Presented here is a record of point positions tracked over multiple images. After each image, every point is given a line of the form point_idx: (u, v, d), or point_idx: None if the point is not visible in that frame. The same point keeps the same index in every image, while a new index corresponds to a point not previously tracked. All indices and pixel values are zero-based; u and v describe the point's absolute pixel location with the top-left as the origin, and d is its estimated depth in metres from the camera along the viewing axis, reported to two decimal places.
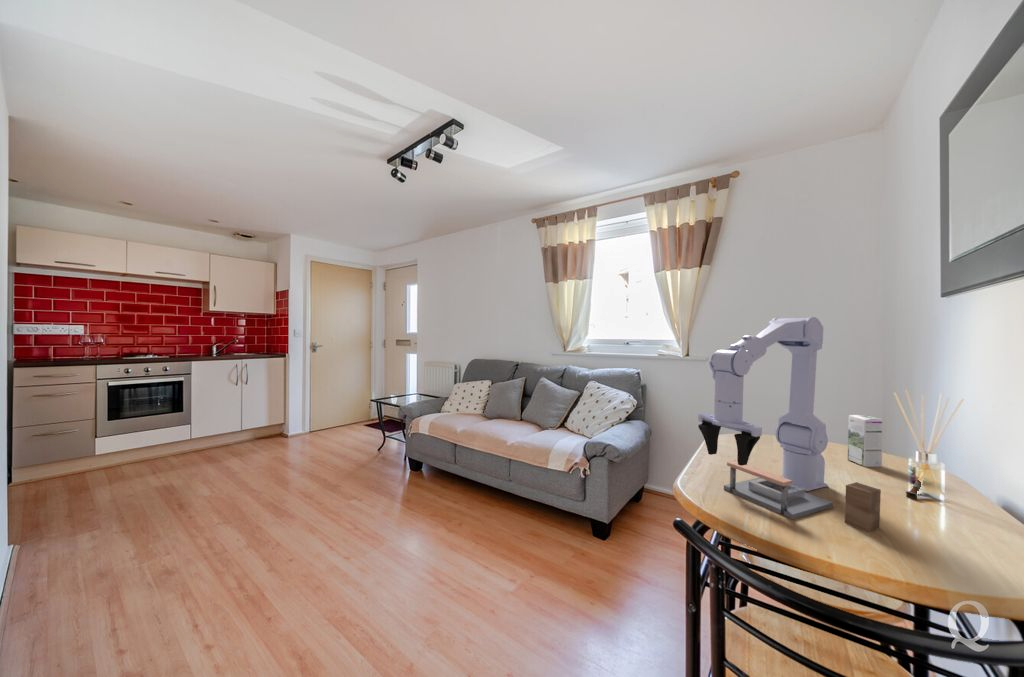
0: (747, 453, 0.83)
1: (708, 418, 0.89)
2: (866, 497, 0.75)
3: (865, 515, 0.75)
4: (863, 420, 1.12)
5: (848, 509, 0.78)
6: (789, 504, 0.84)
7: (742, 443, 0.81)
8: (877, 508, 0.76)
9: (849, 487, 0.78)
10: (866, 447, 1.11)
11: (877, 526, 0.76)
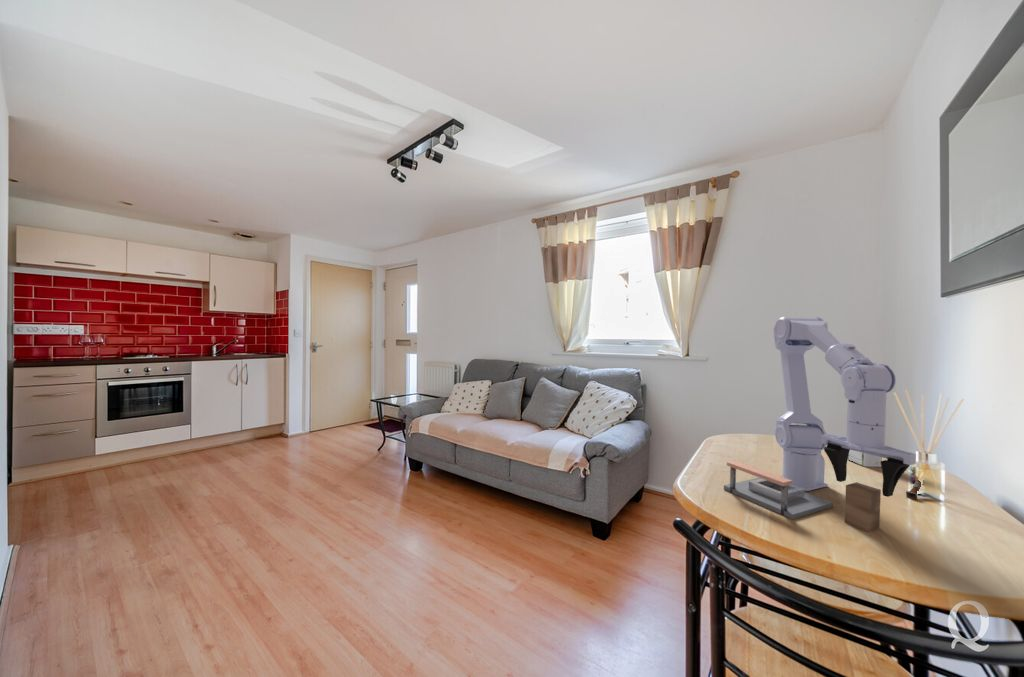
0: (893, 482, 0.73)
1: (838, 441, 0.80)
2: (866, 497, 0.75)
3: (865, 515, 0.75)
4: None
5: (848, 509, 0.78)
6: (789, 504, 0.84)
7: (892, 472, 0.71)
8: (877, 508, 0.76)
9: (849, 487, 0.78)
10: None
11: (877, 526, 0.76)
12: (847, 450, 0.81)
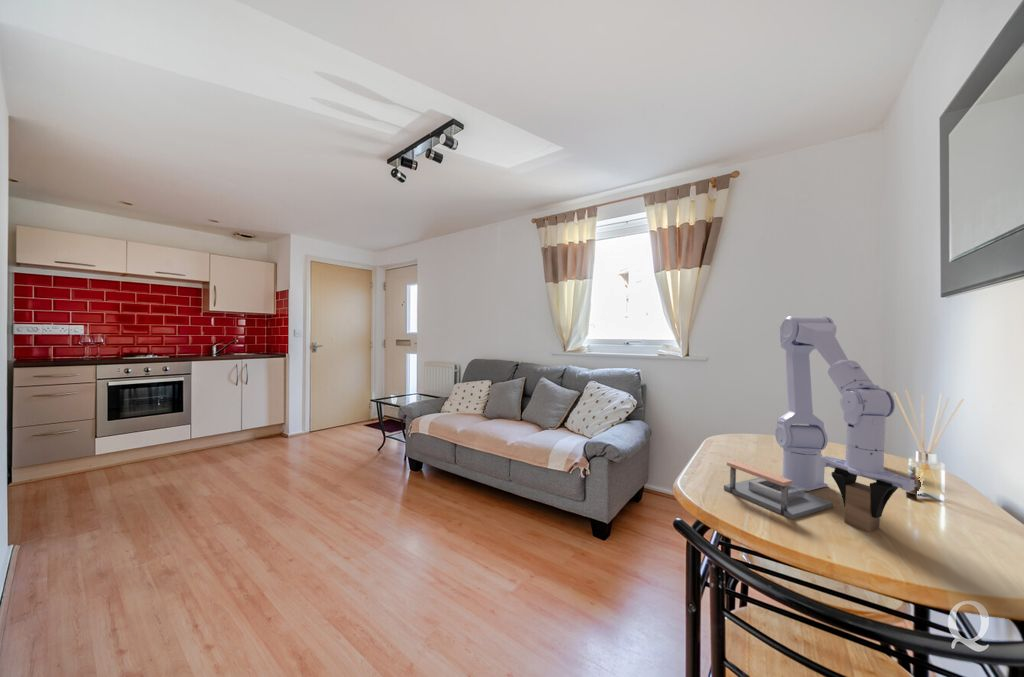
0: (882, 504, 0.75)
1: (837, 464, 0.80)
2: (866, 496, 0.75)
3: (865, 515, 0.75)
4: None
5: (848, 509, 0.78)
6: (789, 504, 0.84)
7: (880, 494, 0.73)
8: None
9: (849, 487, 0.78)
10: None
11: (877, 526, 0.76)
12: (855, 475, 0.80)
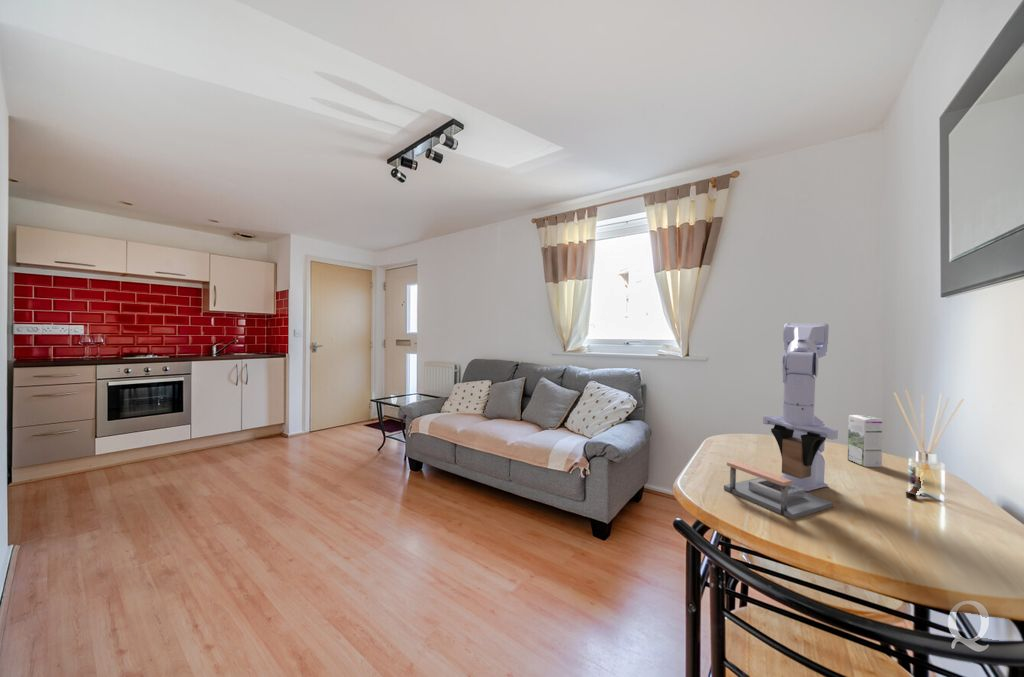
0: (812, 454, 0.84)
1: (776, 421, 0.89)
2: (798, 447, 0.84)
3: (798, 464, 0.84)
4: (863, 420, 1.12)
5: (784, 460, 0.87)
6: (789, 504, 0.84)
7: (809, 444, 0.82)
8: None
9: (785, 440, 0.87)
10: (866, 447, 1.11)
11: (809, 474, 0.85)
12: (791, 431, 0.89)
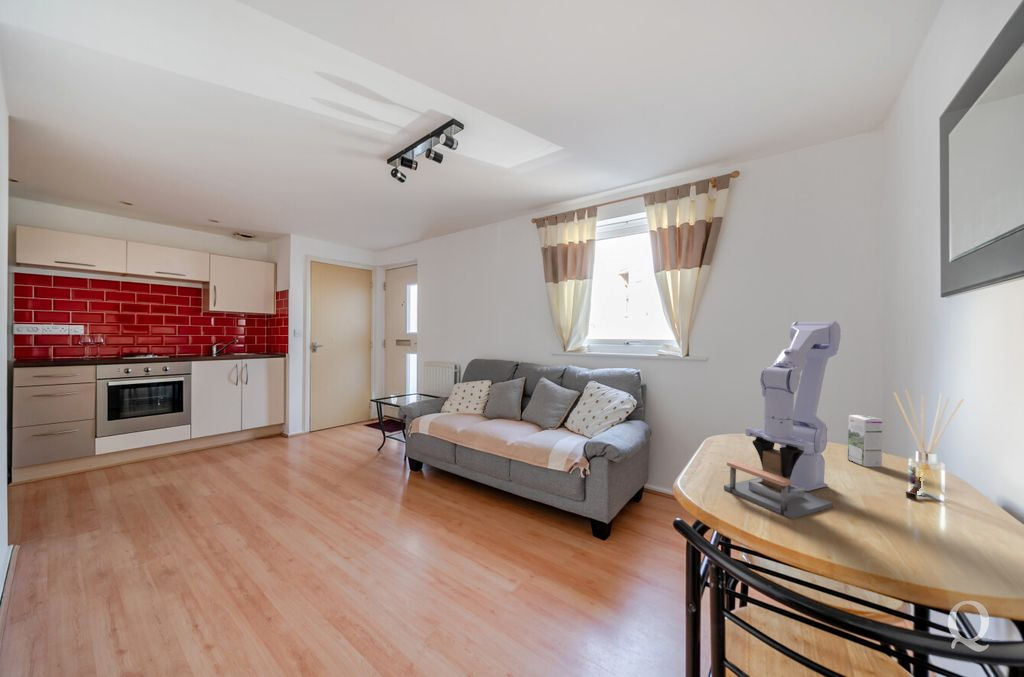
0: (791, 466, 0.87)
1: (757, 433, 0.92)
2: (777, 459, 0.87)
3: None
4: (863, 420, 1.12)
5: None
6: (789, 504, 0.84)
7: (787, 456, 0.85)
8: None
9: (765, 452, 0.90)
10: (866, 447, 1.11)
11: (788, 485, 0.88)
12: (772, 443, 0.92)
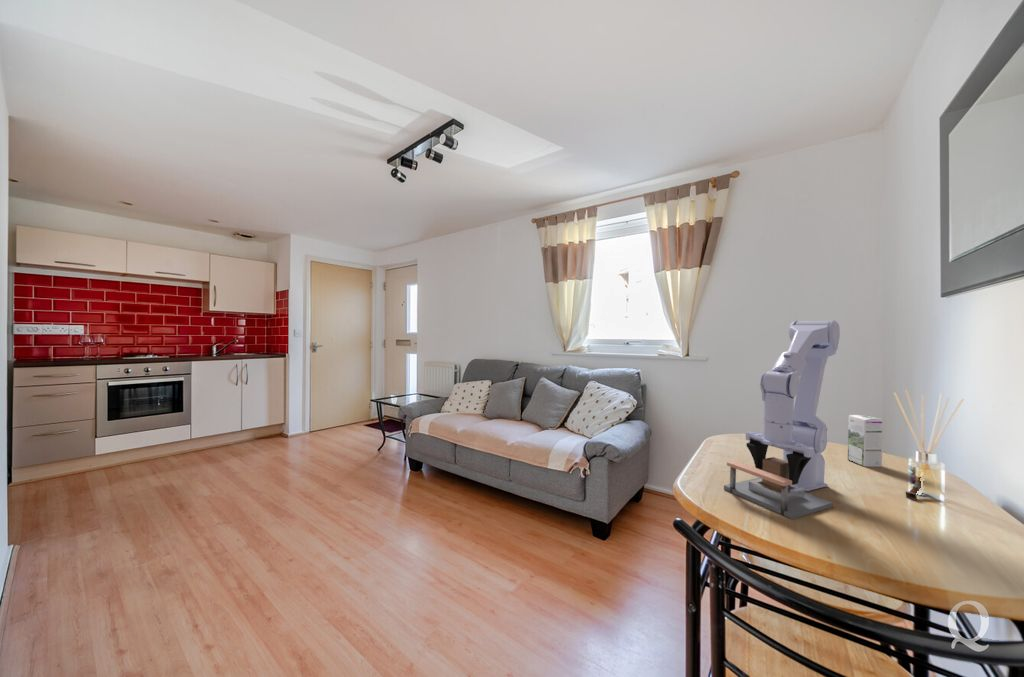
0: (798, 472, 0.86)
1: (757, 437, 0.92)
2: (777, 468, 0.88)
3: (776, 484, 0.88)
4: (863, 420, 1.12)
5: (764, 479, 0.90)
6: (789, 504, 0.84)
7: (794, 463, 0.84)
8: (787, 478, 0.88)
9: (765, 460, 0.90)
10: (866, 447, 1.11)
11: None
12: (766, 445, 0.94)
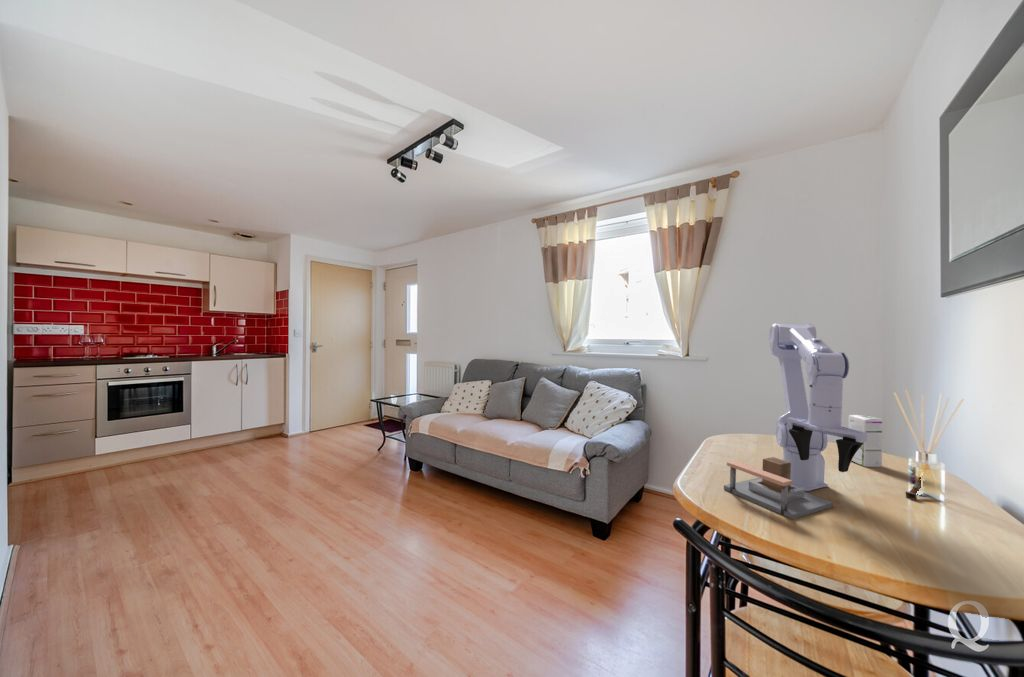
0: (848, 459, 0.81)
1: (801, 423, 0.87)
2: (777, 468, 0.88)
3: (776, 484, 0.88)
4: (863, 420, 1.12)
5: (764, 479, 0.90)
6: (789, 504, 0.84)
7: (845, 449, 0.79)
8: (787, 478, 0.88)
9: (765, 460, 0.90)
10: (866, 447, 1.11)
11: None
12: (810, 432, 0.88)
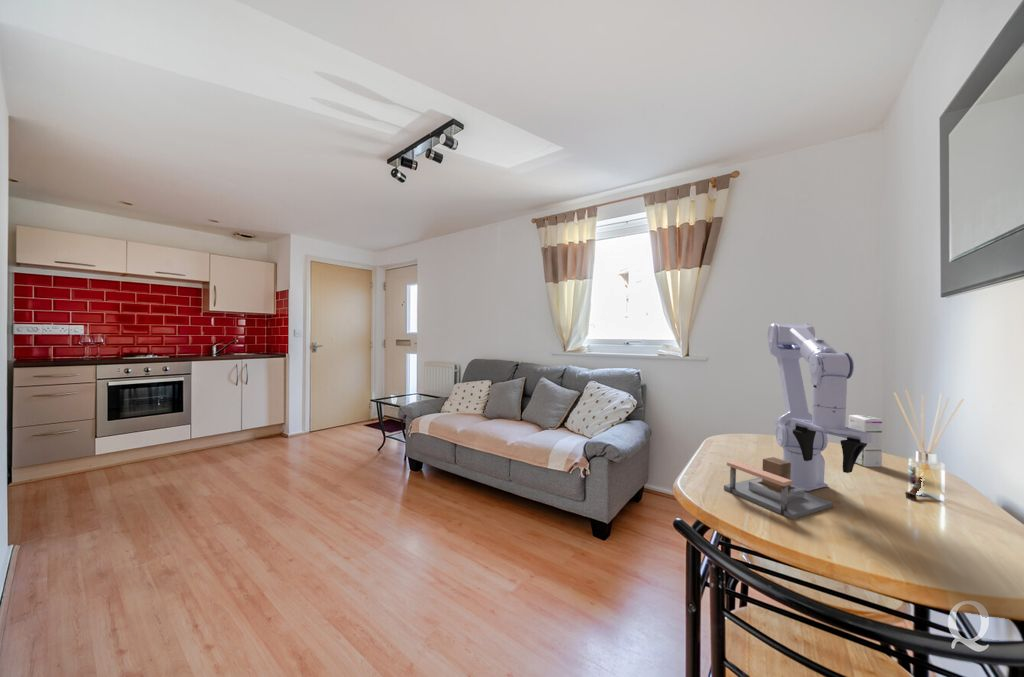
0: (852, 460, 0.80)
1: (805, 423, 0.86)
2: (777, 468, 0.88)
3: (776, 484, 0.88)
4: (863, 420, 1.12)
5: (764, 479, 0.90)
6: (789, 504, 0.84)
7: (850, 450, 0.78)
8: (787, 478, 0.88)
9: (765, 460, 0.90)
10: (866, 447, 1.11)
11: None
12: (813, 432, 0.88)
